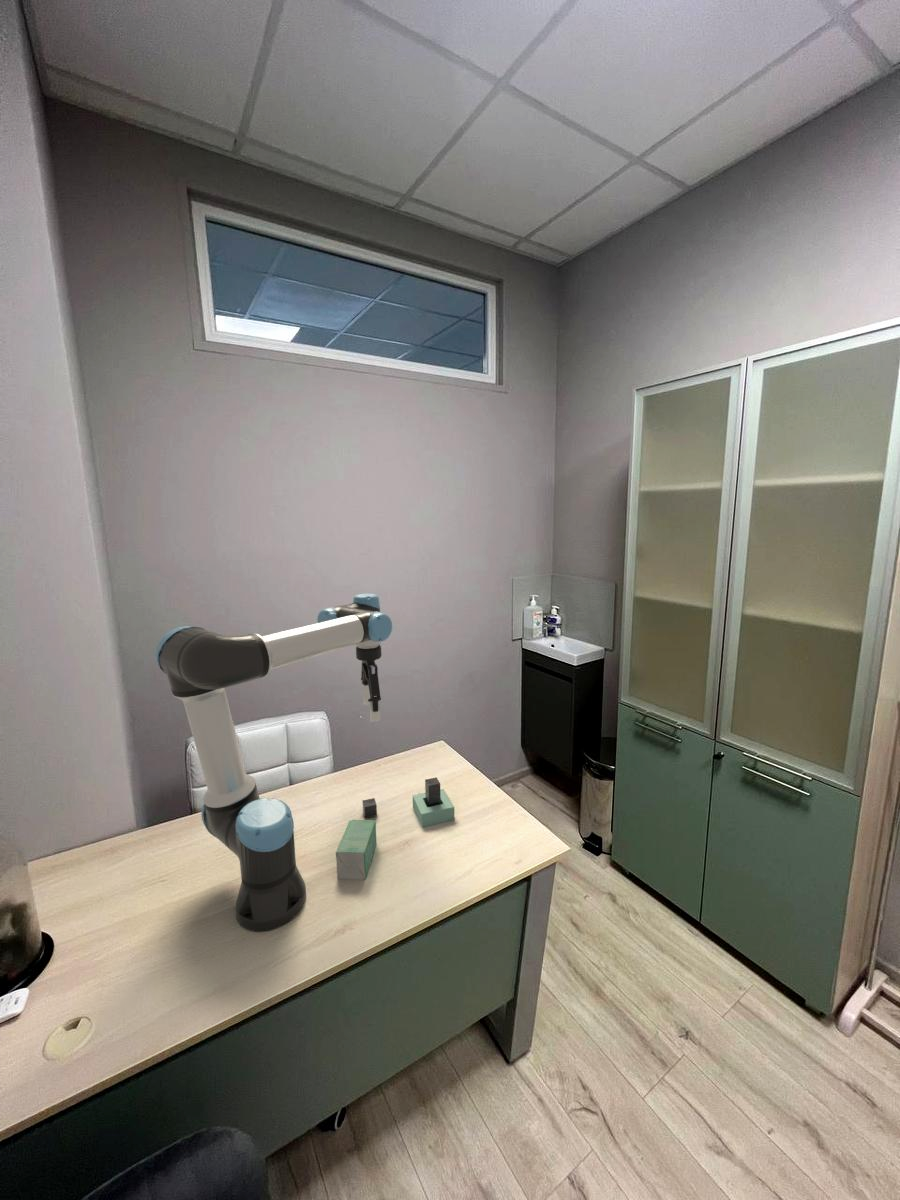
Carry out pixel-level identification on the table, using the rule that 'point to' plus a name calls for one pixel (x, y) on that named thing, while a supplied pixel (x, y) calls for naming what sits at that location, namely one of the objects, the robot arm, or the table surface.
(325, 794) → the table surface
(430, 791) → the long pin
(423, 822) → the hole block
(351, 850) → the box
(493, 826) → the table surface
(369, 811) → the short pin
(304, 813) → the table surface
